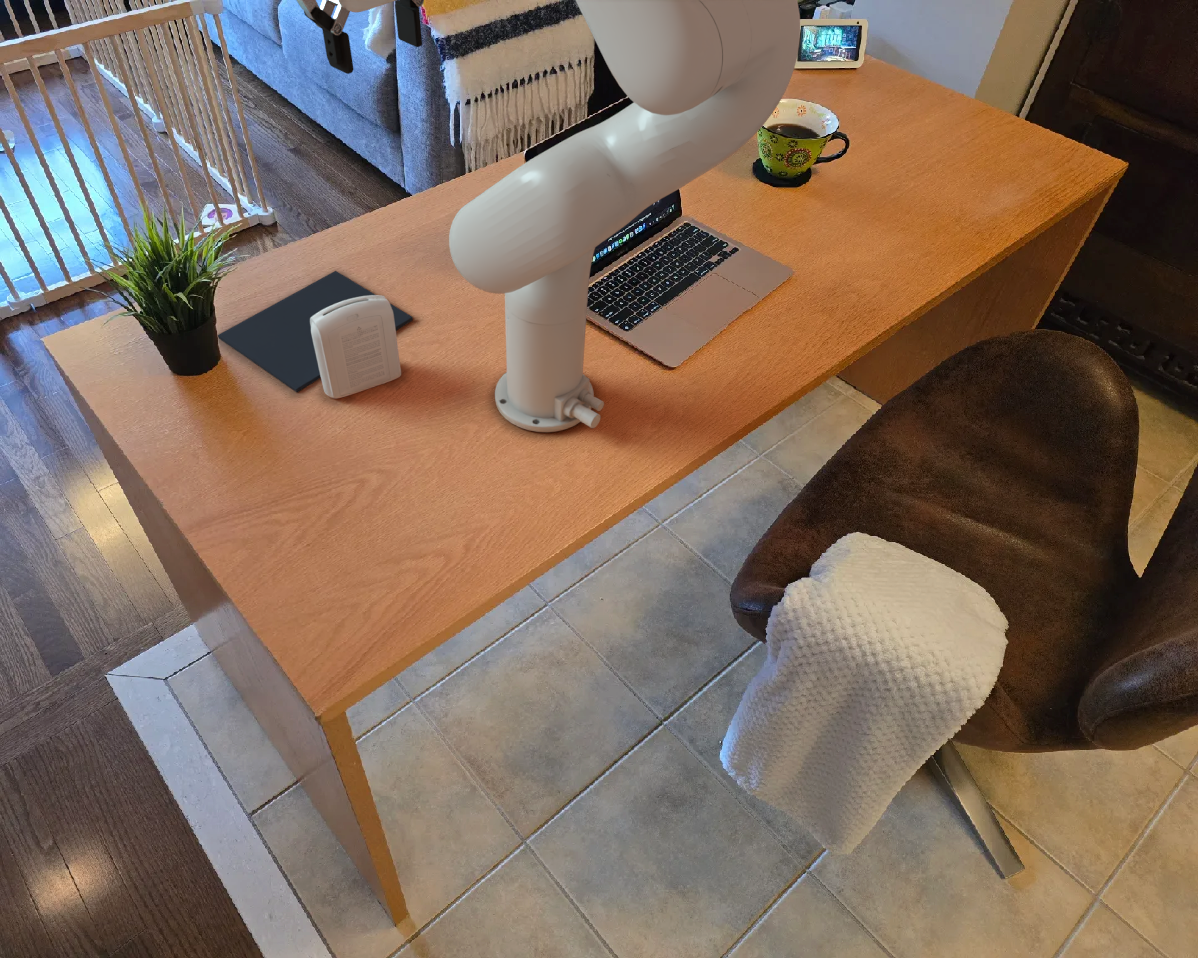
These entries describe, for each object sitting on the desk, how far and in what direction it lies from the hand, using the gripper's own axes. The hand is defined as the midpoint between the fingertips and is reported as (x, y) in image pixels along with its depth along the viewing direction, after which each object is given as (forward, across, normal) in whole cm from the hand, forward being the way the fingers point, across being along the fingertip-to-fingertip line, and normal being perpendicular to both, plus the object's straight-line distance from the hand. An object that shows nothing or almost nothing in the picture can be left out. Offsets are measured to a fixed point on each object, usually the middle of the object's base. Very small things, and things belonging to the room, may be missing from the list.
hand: (376, 55), depth 94 cm
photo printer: (+36, -12, -4) cm, 38 cm away
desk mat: (+36, -9, +8) cm, 38 cm away
